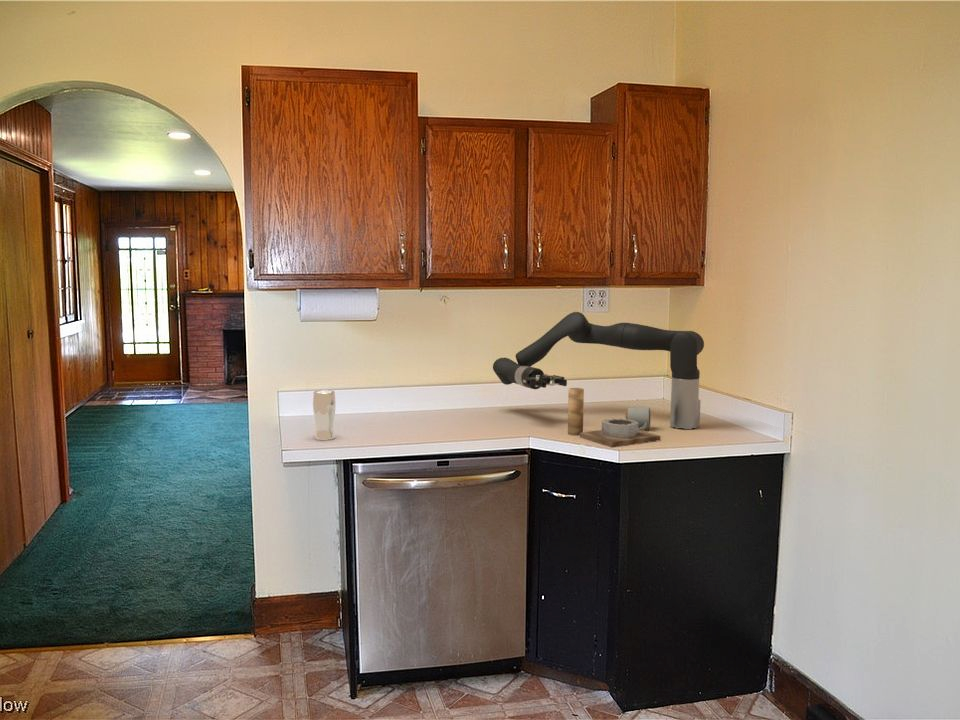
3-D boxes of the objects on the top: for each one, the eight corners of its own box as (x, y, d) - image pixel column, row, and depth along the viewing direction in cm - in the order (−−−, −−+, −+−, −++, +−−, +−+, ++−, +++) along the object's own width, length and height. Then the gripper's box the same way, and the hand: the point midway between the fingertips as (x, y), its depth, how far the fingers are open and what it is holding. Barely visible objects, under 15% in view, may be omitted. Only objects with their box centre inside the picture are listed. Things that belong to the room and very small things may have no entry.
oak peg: (576, 431, 265) (577, 387, 264) (585, 434, 261) (587, 389, 259) (564, 433, 263) (565, 388, 261) (573, 436, 259) (574, 390, 257)
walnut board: (627, 431, 267) (627, 426, 267) (660, 440, 253) (660, 435, 253) (579, 437, 257) (579, 432, 257) (611, 447, 243) (611, 442, 243)
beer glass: (315, 436, 256) (314, 390, 254) (337, 435, 256) (336, 390, 254) (312, 440, 249) (311, 393, 247) (334, 440, 249) (334, 393, 248)
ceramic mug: (626, 425, 276) (627, 404, 275) (650, 427, 274) (651, 405, 273) (624, 432, 266) (624, 409, 265) (648, 433, 264) (649, 411, 263)
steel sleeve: (621, 429, 262) (622, 417, 262) (644, 435, 253) (645, 423, 252) (595, 432, 257) (595, 420, 256) (617, 439, 247) (618, 426, 247)
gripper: (513, 367, 280) (538, 374, 266) (546, 365, 287) (573, 371, 273) (512, 388, 281) (538, 396, 267) (545, 386, 288) (572, 393, 274)
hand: (555, 383), depth 270 cm, fingers open, 8 cm apart
